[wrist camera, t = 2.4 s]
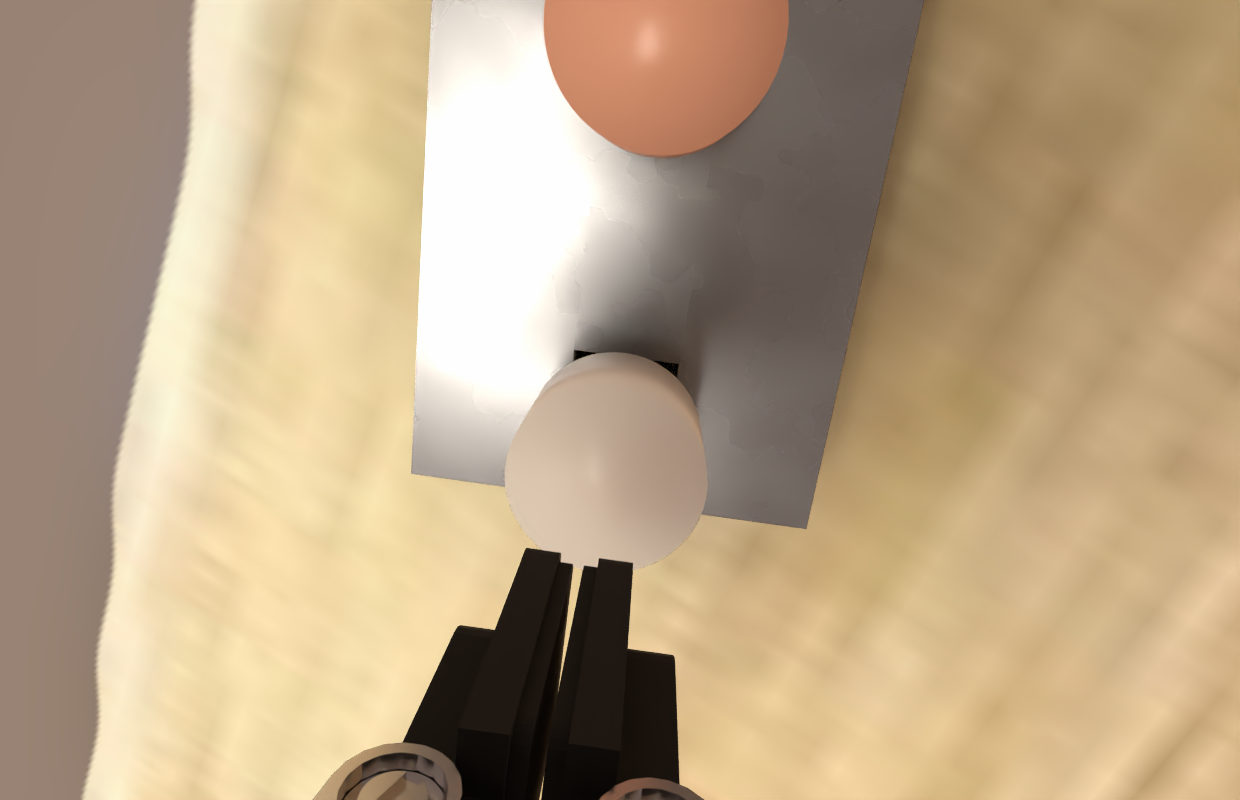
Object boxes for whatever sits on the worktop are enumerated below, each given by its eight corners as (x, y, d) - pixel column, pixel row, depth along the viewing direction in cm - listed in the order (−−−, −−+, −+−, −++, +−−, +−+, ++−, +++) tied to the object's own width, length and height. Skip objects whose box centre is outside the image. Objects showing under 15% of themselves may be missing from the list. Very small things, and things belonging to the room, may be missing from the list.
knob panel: (507, -410, 20) (458, -600, 15) (949, -359, 19) (1043, -535, 15) (456, 421, 27) (411, 473, 22) (780, 466, 26) (806, 528, 22)
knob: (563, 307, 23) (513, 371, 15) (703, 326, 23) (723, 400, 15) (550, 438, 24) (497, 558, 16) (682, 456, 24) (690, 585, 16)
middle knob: (596, -13, 20) (555, -133, 12) (754, 6, 20) (811, -102, 12) (579, 153, 21) (533, 138, 14) (727, 173, 21) (764, 168, 14)
